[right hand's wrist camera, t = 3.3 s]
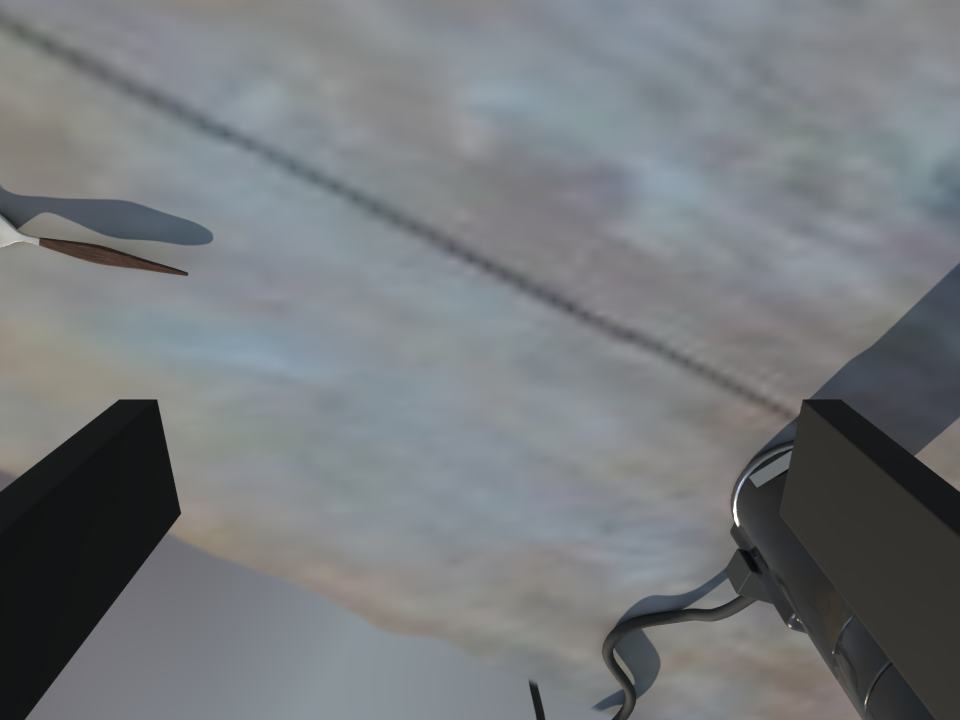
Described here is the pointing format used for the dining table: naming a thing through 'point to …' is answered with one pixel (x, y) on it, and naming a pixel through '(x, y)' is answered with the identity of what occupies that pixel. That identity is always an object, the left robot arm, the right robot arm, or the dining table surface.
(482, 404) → the dining table surface
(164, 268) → the fork
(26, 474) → the right robot arm
